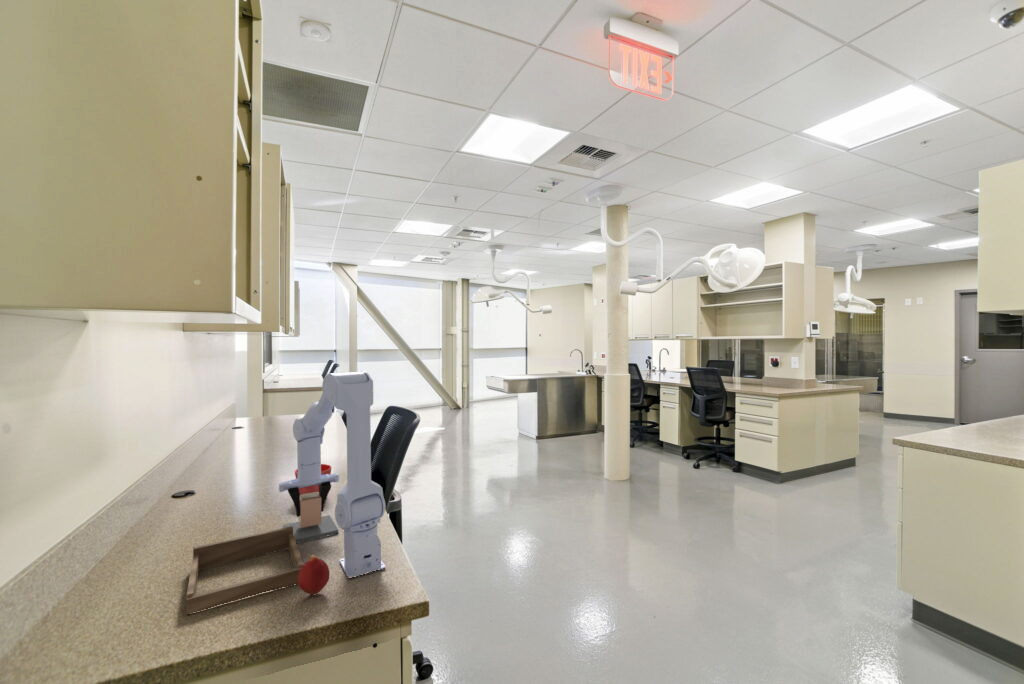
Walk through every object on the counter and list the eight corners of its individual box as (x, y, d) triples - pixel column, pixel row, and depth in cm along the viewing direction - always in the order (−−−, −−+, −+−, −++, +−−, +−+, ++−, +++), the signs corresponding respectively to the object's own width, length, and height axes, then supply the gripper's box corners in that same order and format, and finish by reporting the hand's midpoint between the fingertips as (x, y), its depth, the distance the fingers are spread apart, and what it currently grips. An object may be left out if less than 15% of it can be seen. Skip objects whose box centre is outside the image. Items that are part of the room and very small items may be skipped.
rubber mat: (338, 533, 116) (338, 529, 116) (287, 545, 109) (287, 541, 109) (329, 518, 126) (329, 515, 126) (282, 528, 119) (282, 525, 119)
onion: (321, 583, 92) (320, 545, 92) (335, 593, 88) (334, 553, 88) (292, 596, 87) (292, 556, 87) (306, 607, 84) (305, 565, 84)
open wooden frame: (304, 582, 92) (304, 558, 92) (186, 615, 81) (186, 589, 81) (292, 546, 109) (292, 526, 109) (193, 569, 98) (193, 547, 98)
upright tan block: (321, 523, 117) (321, 496, 117) (300, 528, 114) (300, 500, 114) (318, 517, 121) (318, 491, 121) (298, 521, 118) (298, 494, 118)
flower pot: (323, 503, 137) (322, 473, 137) (288, 504, 138) (288, 473, 138) (337, 492, 148) (336, 463, 148) (305, 492, 148) (304, 463, 148)
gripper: (334, 455, 125) (335, 502, 125) (277, 463, 117) (278, 514, 117) (340, 460, 119) (340, 510, 119) (280, 469, 111) (280, 523, 111)
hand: (309, 512), depth 117 cm, fingers closed on upright tan block, 5 cm apart
